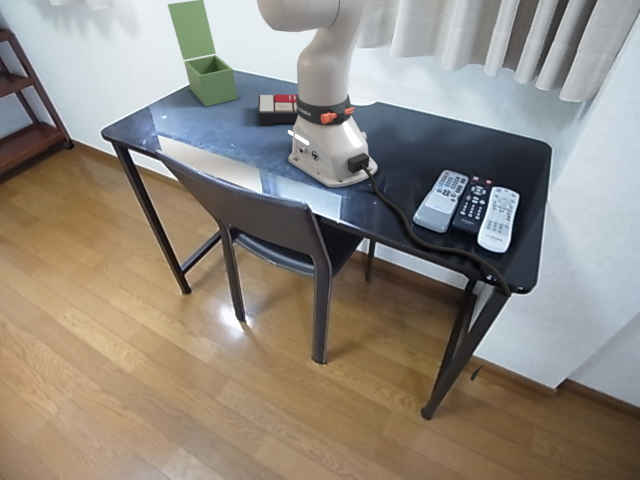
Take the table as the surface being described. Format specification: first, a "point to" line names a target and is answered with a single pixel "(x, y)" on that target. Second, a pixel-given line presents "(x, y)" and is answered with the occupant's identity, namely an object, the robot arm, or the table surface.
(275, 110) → the black rectangular box
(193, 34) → the lid
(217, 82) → the chest
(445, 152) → the table surface
